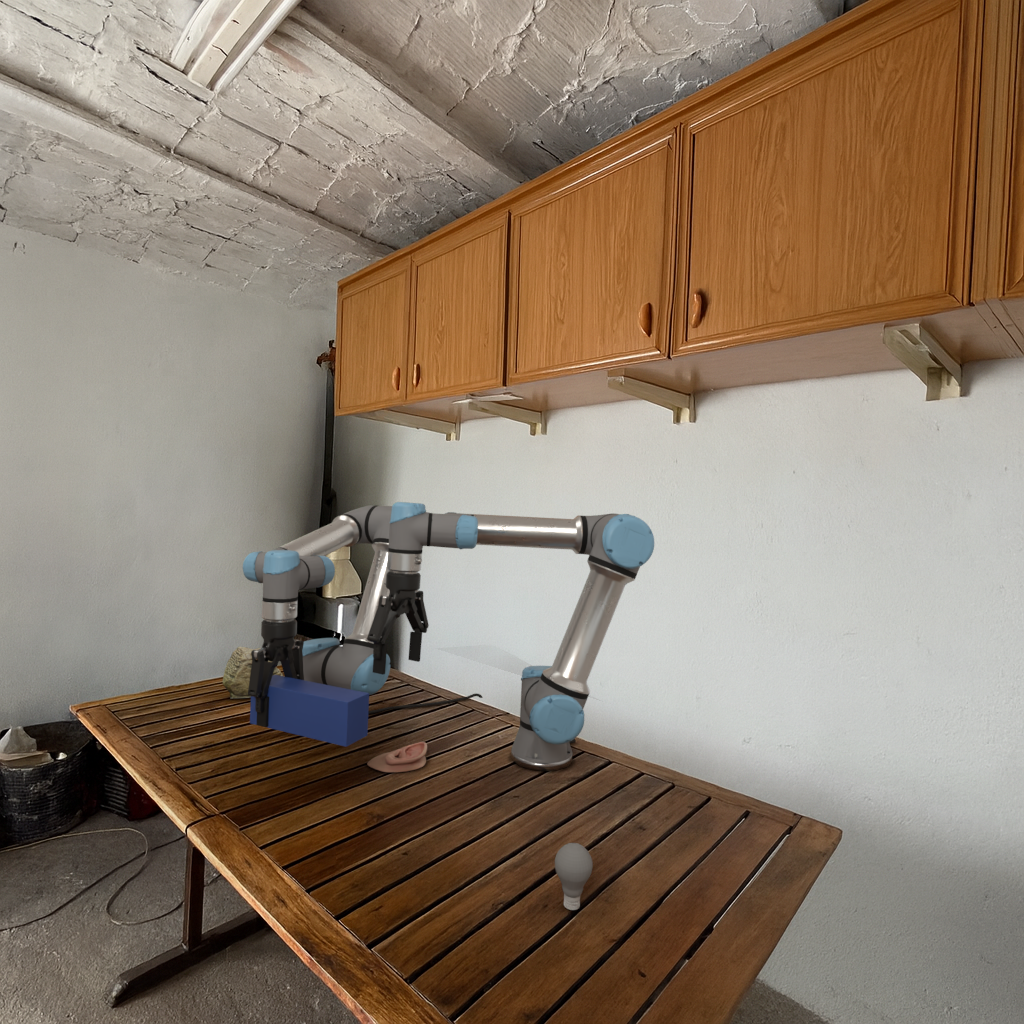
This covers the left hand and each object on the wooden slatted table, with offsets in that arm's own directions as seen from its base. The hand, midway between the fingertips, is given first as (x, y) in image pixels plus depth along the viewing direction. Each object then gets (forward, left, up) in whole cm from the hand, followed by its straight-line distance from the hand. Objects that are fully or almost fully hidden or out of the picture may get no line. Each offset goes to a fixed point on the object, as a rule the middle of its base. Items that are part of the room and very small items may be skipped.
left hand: (275, 720), depth 143 cm
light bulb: (-6, +76, -13) cm, 78 cm away
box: (-2, +9, 0) cm, 9 cm away
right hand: (-16, +22, +14) cm, 31 cm away
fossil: (-26, -55, -13) cm, 62 cm away
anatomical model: (-23, +15, -13) cm, 30 cm away
